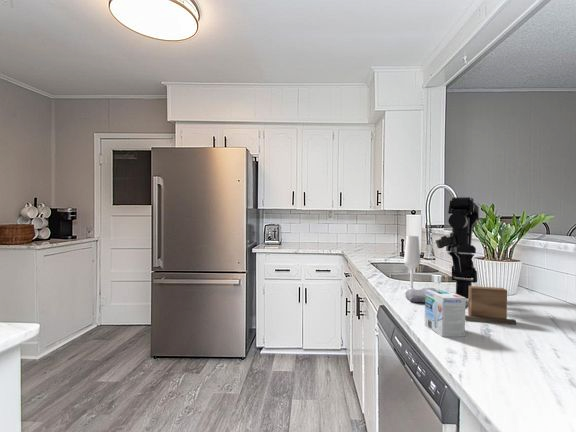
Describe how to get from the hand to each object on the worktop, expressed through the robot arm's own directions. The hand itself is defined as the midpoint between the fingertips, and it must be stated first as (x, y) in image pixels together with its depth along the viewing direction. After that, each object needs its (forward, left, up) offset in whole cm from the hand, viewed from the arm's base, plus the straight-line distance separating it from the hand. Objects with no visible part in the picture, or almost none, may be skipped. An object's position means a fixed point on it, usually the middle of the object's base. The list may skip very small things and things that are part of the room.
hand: (459, 271), depth 131 cm
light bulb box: (+35, +10, -12) cm, 39 cm away
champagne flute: (-4, -21, -12) cm, 24 cm away
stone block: (+7, -10, -12) cm, 17 cm away
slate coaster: (+2, -1, -12) cm, 12 cm away
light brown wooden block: (+13, +14, -12) cm, 23 cm away
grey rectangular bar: (+16, +16, -12) cm, 25 cm away
